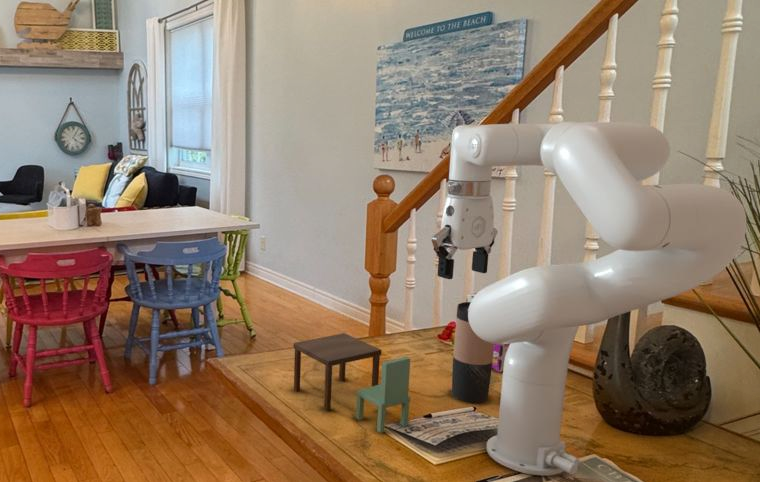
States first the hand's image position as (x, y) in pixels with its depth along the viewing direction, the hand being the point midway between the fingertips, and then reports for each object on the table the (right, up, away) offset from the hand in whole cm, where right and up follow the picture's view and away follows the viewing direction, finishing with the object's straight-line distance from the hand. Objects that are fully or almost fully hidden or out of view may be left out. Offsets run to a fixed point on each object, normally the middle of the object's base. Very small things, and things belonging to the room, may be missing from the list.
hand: (462, 274), depth 126 cm
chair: (-16, -29, -1) cm, 33 cm away
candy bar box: (+19, -23, +28) cm, 41 cm away
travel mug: (+6, -27, +10) cm, 30 cm away
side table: (-22, -27, +12) cm, 37 cm away
